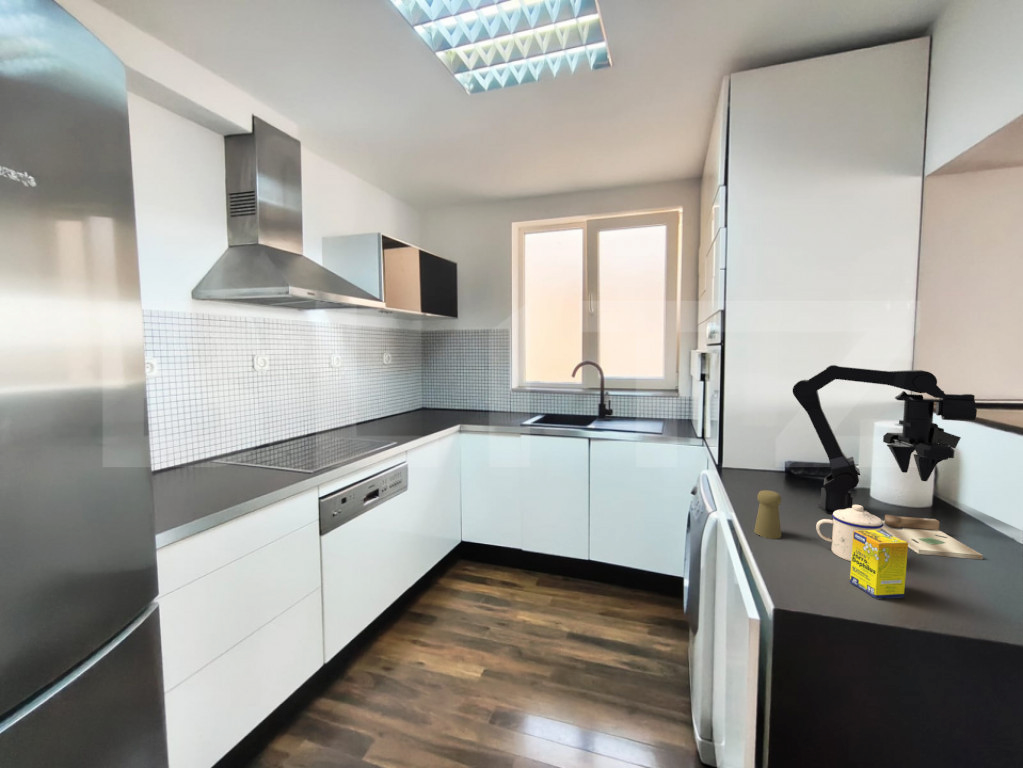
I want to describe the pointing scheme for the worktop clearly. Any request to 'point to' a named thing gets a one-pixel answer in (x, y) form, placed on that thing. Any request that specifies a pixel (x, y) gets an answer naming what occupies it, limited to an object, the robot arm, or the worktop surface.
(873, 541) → the supplement box
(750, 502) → the worktop surface
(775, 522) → the cork
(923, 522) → the walnut lever
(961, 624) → the worktop surface
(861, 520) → the teacup with lid
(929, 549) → the dial plate
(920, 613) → the worktop surface
